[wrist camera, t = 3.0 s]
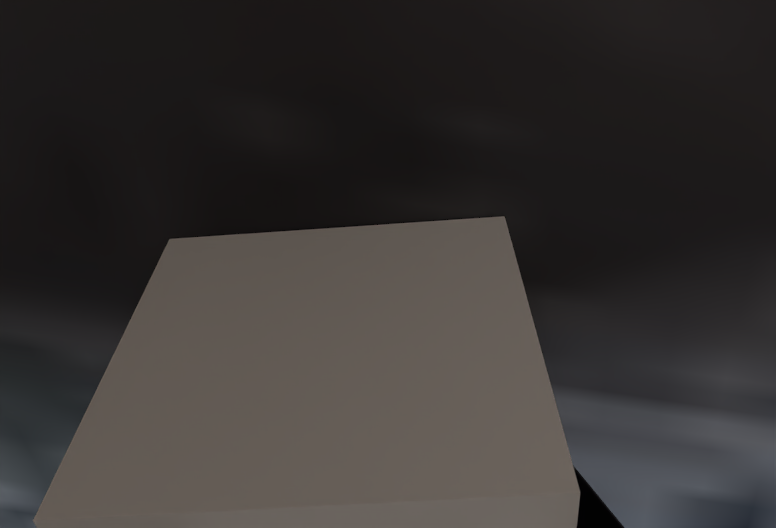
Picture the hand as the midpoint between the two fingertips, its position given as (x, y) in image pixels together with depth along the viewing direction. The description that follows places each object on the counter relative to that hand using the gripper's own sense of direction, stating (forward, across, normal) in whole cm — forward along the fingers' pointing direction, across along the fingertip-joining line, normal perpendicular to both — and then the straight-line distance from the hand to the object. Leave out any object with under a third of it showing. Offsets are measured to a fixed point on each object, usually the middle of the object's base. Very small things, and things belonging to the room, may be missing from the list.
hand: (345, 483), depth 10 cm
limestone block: (+3, 0, 0) cm, 3 cm away
